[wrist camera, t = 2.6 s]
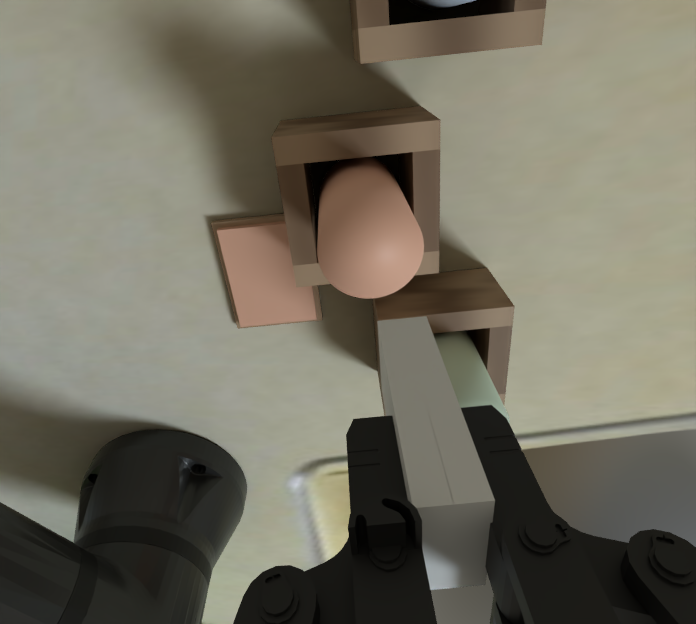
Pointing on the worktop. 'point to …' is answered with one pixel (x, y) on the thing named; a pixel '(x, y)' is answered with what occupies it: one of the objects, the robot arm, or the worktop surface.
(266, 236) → the tile
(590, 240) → the worktop surface
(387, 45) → the wooden box holder
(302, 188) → the brown housing
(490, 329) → the square brown wooden frame
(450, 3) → the slate plunger
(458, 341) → the sage plunger
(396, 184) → the pink rounded cylinder
